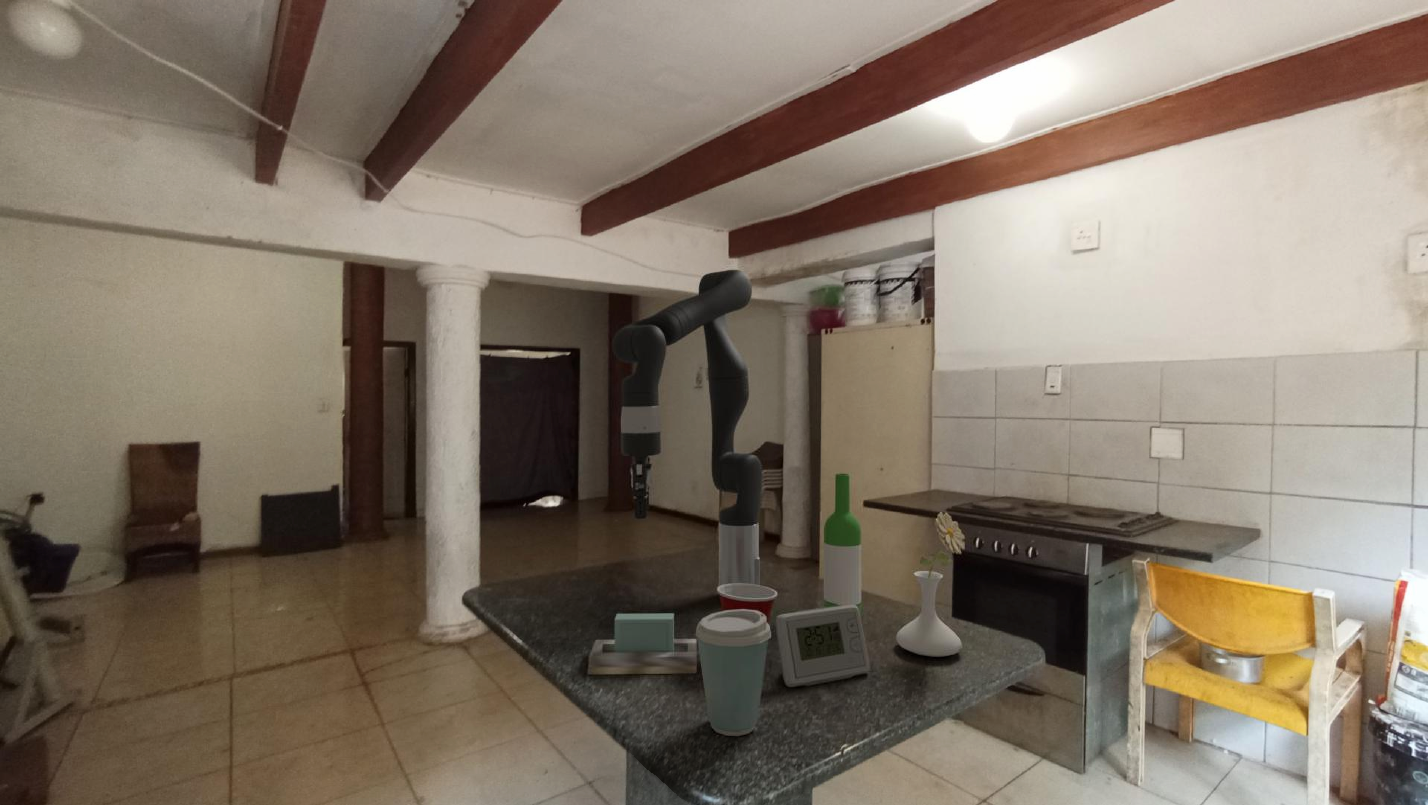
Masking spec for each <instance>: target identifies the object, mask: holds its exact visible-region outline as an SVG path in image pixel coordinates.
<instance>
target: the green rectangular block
mask: <svg viewBox="0 0 1428 805" xmlns="http://www.w3.org/2000/svg"><path fill="white" fill-rule="evenodd" d="M674 634H675V613H674V612H673V613H671V612H670V613H665V612H664V613H616V615H615V617H614V640H615V653H624V652H674V639H675V635H674Z"/></svg>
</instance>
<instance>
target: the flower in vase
mask: <svg viewBox="0 0 1428 805" xmlns="http://www.w3.org/2000/svg"><path fill="white" fill-rule="evenodd" d="M935 527H936V532H937V534H938V539H939V542H938V544H937V547H936V549H935V553H934V556H933V560H929V559H927V558H925V557H923V556H921V557H920V561H919V564H920V565H923V566H926V567H929V570H928V571H927V570H926V571H925V570H923V571H922V570H921V571H920V570H919V571H915V572H914V573H913V575H914V576H915V578H916V579H917V581H918V583H919V587H920V592H921V612H920V613H919V615H918V616H917V617H916V618H914V619H913V620H912V621H910V622H908V623H907V624H906V625H904V626H903V627H902V628H901V629H899V630H898V631H897V634H896V636H895V640H896V642H897V643H898V645H899V646H900V648H902V649H904V650H907V651H909V652H911V653H913V654H916V655H920V656H926V657H936V658H939V657H940V658H941V657H948V656H951V655H952V656H953V655H955V654H957V653H959V651H961V649H962V647H963V643H962V641H961V639H960V637H959V636H958V635H957V634H956V633H955V632H954V631H953V630H952V629H951V628H950V627H949V626H947V625H946V624H945V623H944V622H943V621H942V620H941V619H940V618H939V617H938V616H937V612H936V604H935V603H936V594H937V588H938V586H939V583H940V582H941V580H942V579H943V577H944V574H941V573H939V572H936V571H933V568H934V565H935V564H936V560H937V561H938V563H939V564H941V565H942V566H944V567H945V566H946V567H947V566H949V564H951V563H952V559H951V557H950V556H949V554H947V553H946V552H944V551H939V549H940V547H941V544H943V546H945V548H946V550H947V551H951V552H952V553H953V554H957V555H961V554H962V550H965V549H966V546H965V545H966V543H965V541H963V540H965V538H966V537H965V535H964V534H963V533H962V530H961V529H960V528H959V524H958V521H955V520H954V521H953V519H952V516H951V515H949V513H948V512H945V513H943V512H942V511H940V512H939V513H938V514H937V518H935ZM961 549H962V550H961Z"/></svg>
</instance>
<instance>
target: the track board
mask: <svg viewBox="0 0 1428 805" xmlns="http://www.w3.org/2000/svg"><path fill="white" fill-rule="evenodd" d="M697 650H698V649H697V638H674V652H624V653H615V639H595V641H594V644H593V646H592V648H591V651H590V653H589V656H588V668H587V675H636V674H637V675H645V674H646V675H654V674H655V675H657V674H658V675H659V674H661V675H662V674H666V675H667V674H670V675H671V674H673V675H674V674H697V672H698V671H697V669H698V668H697V667H698V666H697V665H698V664H697V658H698V656H697Z"/></svg>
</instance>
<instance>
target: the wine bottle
mask: <svg viewBox="0 0 1428 805" xmlns="http://www.w3.org/2000/svg"><path fill="white" fill-rule="evenodd" d="M834 478H835V482H834V483H835V485H834V489H835V490H834V491H835V493H834V494H835V495H834V499H835V500H834V511H833V512H832V513H831V514H830V515H829V516H828V518H827V519H826V520H825V524H824V527H823V608H824V607H831V606H837V607H838V606H845V605H856V606H857V607H858V610H859V614H860V615H861V613H862V529H861V528H862V527H861V525H860V522H859V520H858V519H857V517H856V516H855V515H854V514H853V513H852V512H851V510H850V507H851V505H850V504H851V503H850V501H851V500H850V497H851V496H850V494H851V492H850V474H849V473H836V474H835V477H834Z"/></svg>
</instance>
